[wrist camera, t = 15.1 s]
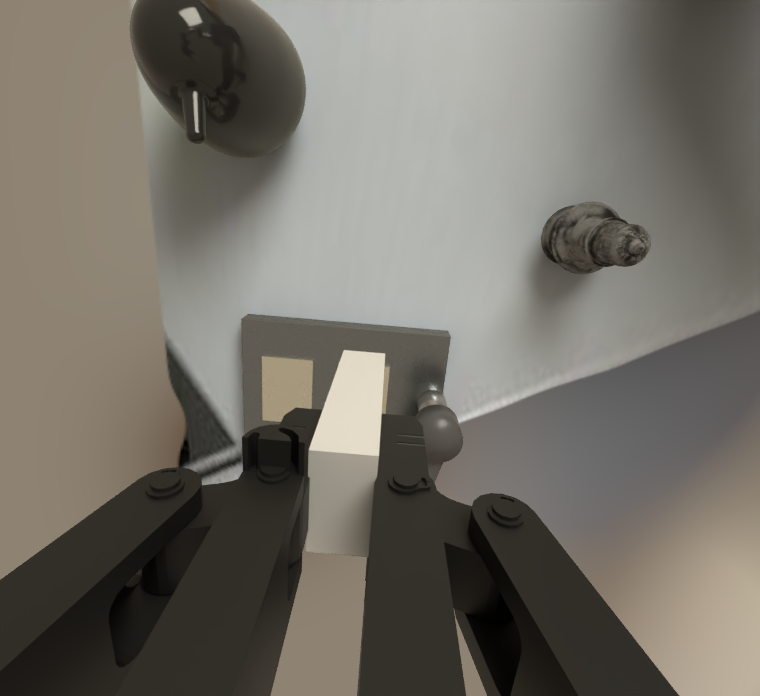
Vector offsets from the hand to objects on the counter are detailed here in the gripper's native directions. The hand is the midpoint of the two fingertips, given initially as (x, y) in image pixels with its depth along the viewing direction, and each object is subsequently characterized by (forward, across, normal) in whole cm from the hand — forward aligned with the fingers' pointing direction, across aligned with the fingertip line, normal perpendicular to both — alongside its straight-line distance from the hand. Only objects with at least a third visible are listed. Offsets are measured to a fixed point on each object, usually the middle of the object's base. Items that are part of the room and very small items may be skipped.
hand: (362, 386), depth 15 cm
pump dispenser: (+27, -12, +14) cm, 32 cm away
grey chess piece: (+27, +17, +5) cm, 32 cm away
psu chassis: (+26, -3, -12) cm, 29 cm away
